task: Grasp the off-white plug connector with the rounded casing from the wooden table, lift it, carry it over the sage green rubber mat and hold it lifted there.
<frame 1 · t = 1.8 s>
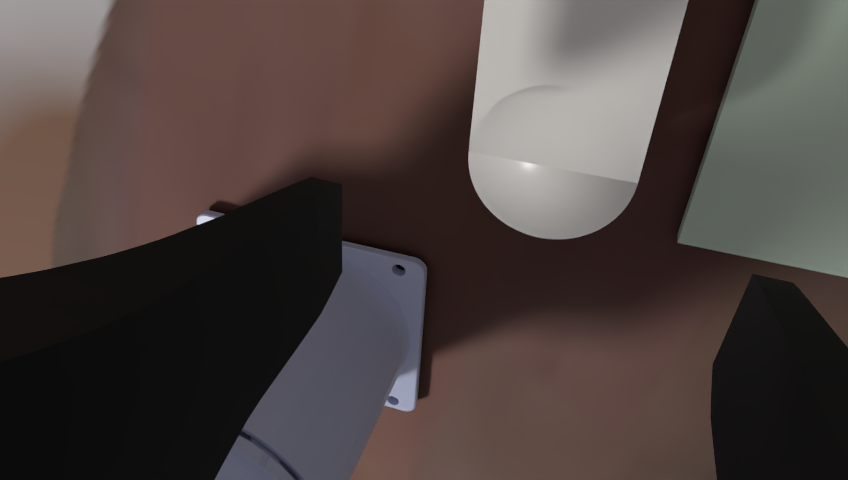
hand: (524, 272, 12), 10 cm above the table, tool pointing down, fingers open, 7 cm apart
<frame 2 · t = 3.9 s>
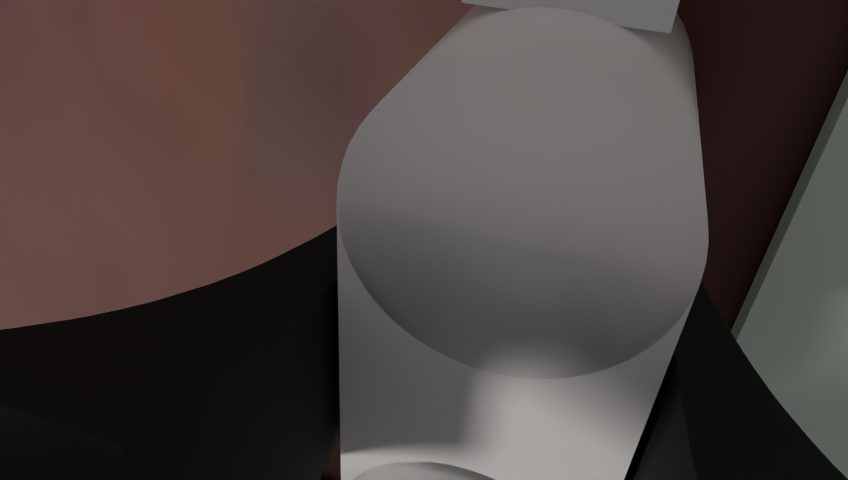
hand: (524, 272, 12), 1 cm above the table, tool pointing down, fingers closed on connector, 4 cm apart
connector: (537, 230, 13), on the table, touching gripper
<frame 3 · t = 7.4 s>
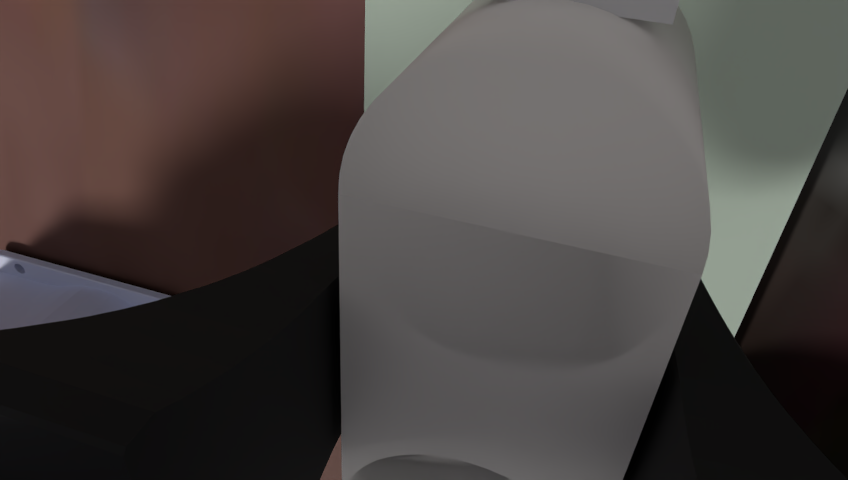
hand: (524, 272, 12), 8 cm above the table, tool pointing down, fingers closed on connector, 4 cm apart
mat: (575, 107, 18), on the table
connector: (538, 225, 13), point 6 cm above the table, touching gripper
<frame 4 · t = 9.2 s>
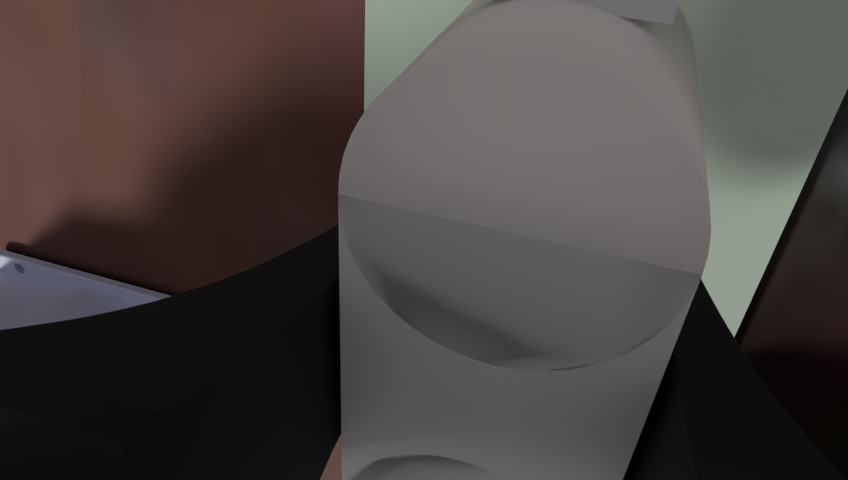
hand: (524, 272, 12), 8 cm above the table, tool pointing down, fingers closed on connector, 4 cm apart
mat: (575, 107, 18), on the table
connector: (538, 225, 13), point 6 cm above the table, touching gripper
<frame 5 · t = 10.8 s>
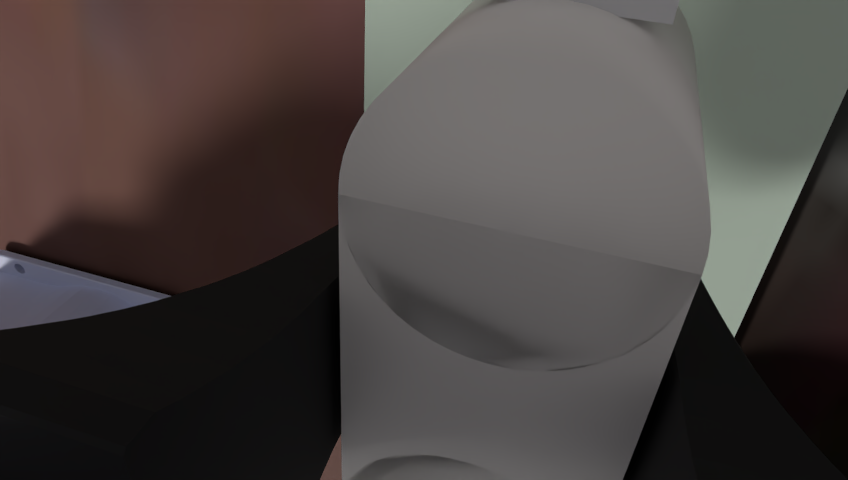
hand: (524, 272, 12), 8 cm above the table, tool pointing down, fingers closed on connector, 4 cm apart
mat: (575, 107, 18), on the table
connector: (538, 225, 13), point 6 cm above the table, touching gripper
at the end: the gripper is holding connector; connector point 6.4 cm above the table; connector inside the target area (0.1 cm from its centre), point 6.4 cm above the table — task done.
